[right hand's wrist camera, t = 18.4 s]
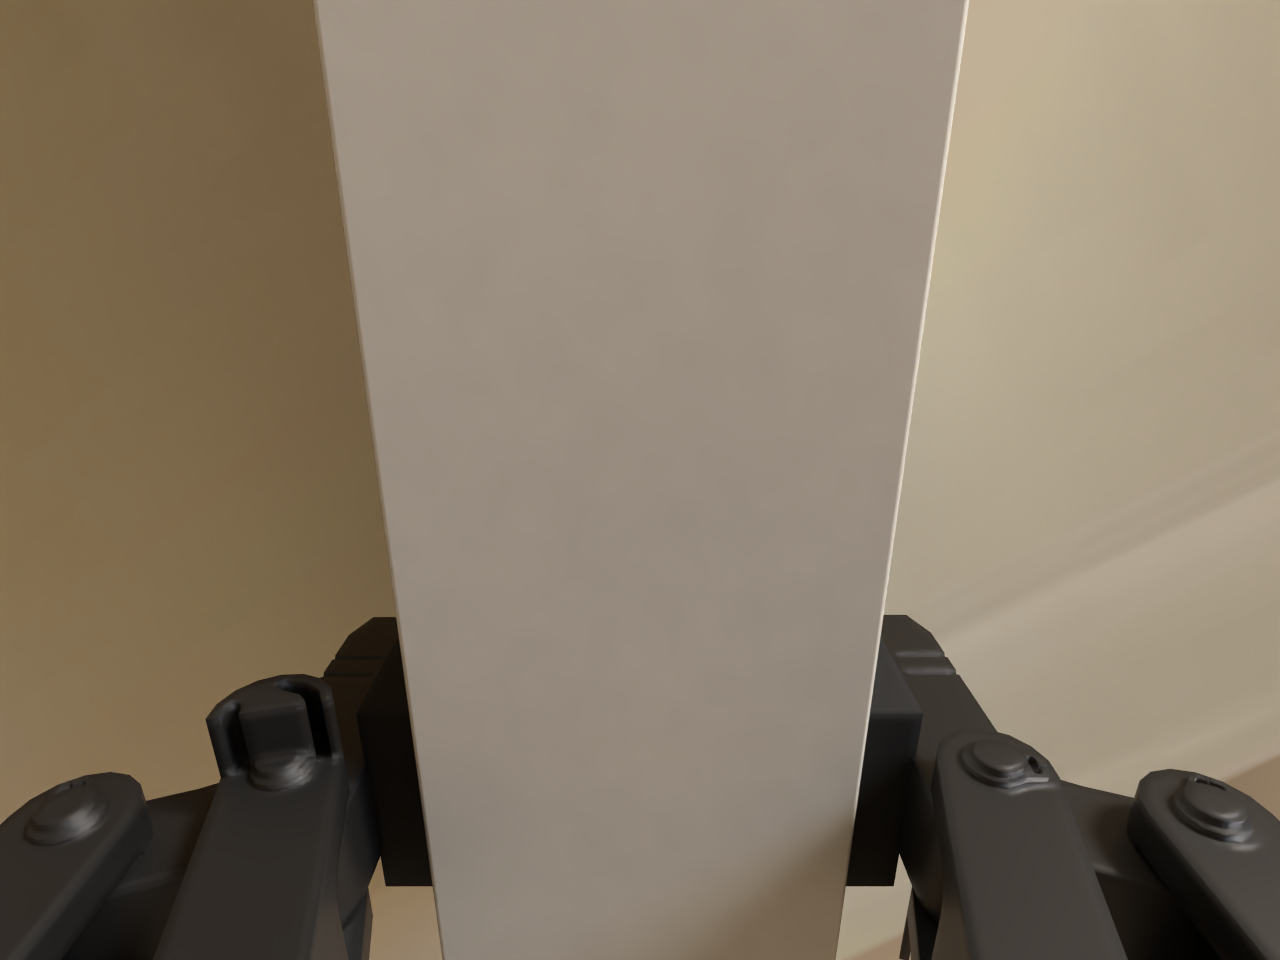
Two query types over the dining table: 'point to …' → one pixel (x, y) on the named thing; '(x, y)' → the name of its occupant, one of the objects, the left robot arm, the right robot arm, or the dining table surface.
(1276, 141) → the dining table surface
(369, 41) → the beam
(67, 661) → the dining table surface
